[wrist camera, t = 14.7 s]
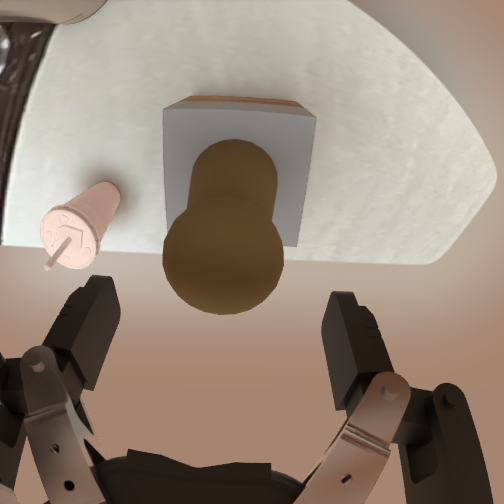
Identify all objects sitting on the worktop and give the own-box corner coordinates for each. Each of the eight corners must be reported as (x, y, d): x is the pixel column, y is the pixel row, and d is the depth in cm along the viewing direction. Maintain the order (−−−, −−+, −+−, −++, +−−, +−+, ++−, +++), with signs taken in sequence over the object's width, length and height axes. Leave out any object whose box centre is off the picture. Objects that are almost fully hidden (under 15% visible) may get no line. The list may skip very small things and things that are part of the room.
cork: (248, 122, 19) (244, 179, 10) (293, 194, 22) (323, 301, 12) (174, 168, 21) (114, 260, 11) (222, 233, 23) (204, 350, 14)
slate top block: (179, 101, 22) (162, 109, 18) (304, 108, 23) (316, 117, 19) (180, 210, 28) (168, 239, 24) (290, 217, 28) (296, 246, 24)
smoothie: (141, 207, 33) (90, 288, 21) (101, 229, 35) (47, 307, 23) (112, 160, 30) (41, 222, 18) (73, 186, 31) (3, 253, 20)
